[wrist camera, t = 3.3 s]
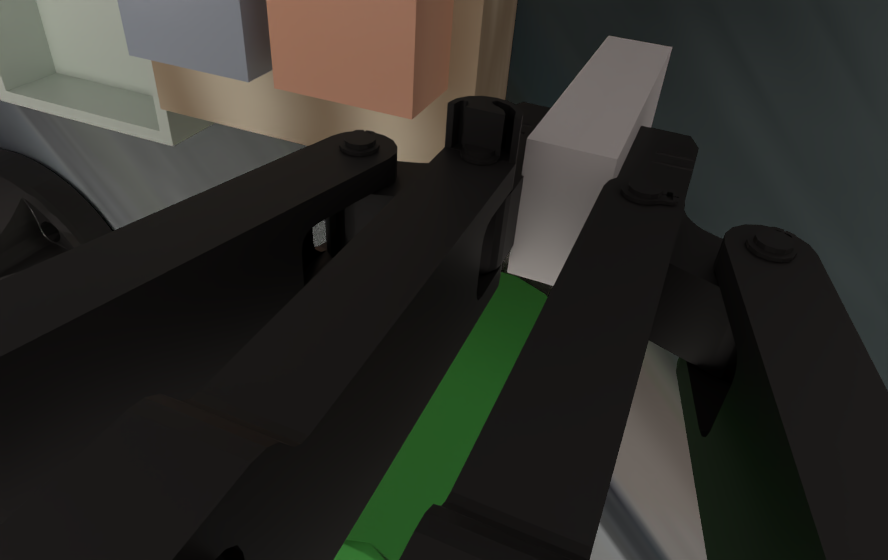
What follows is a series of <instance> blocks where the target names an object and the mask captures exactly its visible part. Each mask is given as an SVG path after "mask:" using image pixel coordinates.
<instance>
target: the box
mask: <svg viewBox="0 0 888 560" xmlns="http://www.w3.org/2000/svg"><path fill="white" fill-rule="evenodd" d="M0 99H1V101H4V102H8V103H12V104H16V105H19V106H23V107H27V108H31V109H34V110H38V111H42V112H46V113H49V114H53V115H57V116H61V117H64V118H68V119H72V120H75V121H79V122H83V123H87V124H90V125H94V126H98V127H102V128H105V129H109V130H113V131H117V132H120V133H124V134H128V135H132V136H135V137H139V138H143V139H147V140H150V141H154V142H158V143H162V144H165V145H169V146H175V145H177V144H179V143H180V142H182V141H184V140H186V139H188V138H189V137H191V136H193V135H195V134H197V133H198V132H200V131H202V130H204V129H205V128H207V127H209V126H211V125H213V124H214V122H210V121H206V120H202V119H198V118H194V117H190V116H186V115H182V114H178V113H174V112H170V111H166V110H162V109H161V108H160V103H159V98H158V93H157V88H156V82H155V77H154V72H153V67H152V62H151V60H148V59H143V58H139V57H135V56H130V55H129V52H128V48H127V43H126V38H125V34H124V29H123V24H122V20H121V15H120V11H119V6H118V1H117V0H0Z"/></svg>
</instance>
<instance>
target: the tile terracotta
mask: <svg viewBox="0 0 888 560" xmlns="http://www.w3.org/2000/svg"><path fill="white" fill-rule="evenodd" d="M266 3H267V14H268V25H269V36H270V47H271V59H272V70H273V81H274V88H275V89H280V90H284V91H288V92H293V93H297V94H302V95H306V96H310V97H315V98H319V99H324V100H328V101H332V102H337V103H341V104H346V105H350V106H354V107H359V108H363V109H368V110H372V111H376V112H381V113H385V114H390V115H394V116H398V117H403V118H407V119H411V120H412V119H413V118H414V117H416V116H417V115H418V114H419V113H420V112H421V111H423V110H424V109H425V108H426V107H427V106H428V105H430V104H431V103H432V102H433V101H434V100H435V99H437V98H438V97H439V96H440V95H441V94H442V93H444V92H445V91H446V90H447V89H448V78H449V63H450V49H451V34H452V20H453V5H454V0H266Z"/></svg>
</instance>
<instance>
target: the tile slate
mask: <svg viewBox="0 0 888 560" xmlns="http://www.w3.org/2000/svg"><path fill="white" fill-rule="evenodd" d="M117 1H118V6H119V11H120V15H121V20H122V24H123V29H124V34H125V38H126V43H127V48H128V52H129V55H130V56H135V57H139V58H143V59H148V60H152V61H157V62H161V63H165V64H170V65H174V66H179V67H183V68H187V69H192V70H196V71H201V72H205V73H209V74H214V75H218V76H223V77H227V78H231V79H236V80H240V81H244V82H250V81H252V80H254V79H256V78H258V77H260V76H262V75H264V74H266V73H268V72H270V71H272V59H271V47H270V36H269V25H268V14H267V3H266V0H117Z"/></svg>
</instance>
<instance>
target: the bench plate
mask: <svg viewBox="0 0 888 560" xmlns="http://www.w3.org/2000/svg"><path fill="white" fill-rule="evenodd" d="M516 9H517V0H454V5H453V20H452V34H451V49H450V63H449V78H448V89H447V90H446V91H445V92H444V93H442V94H441V95H440V96H439V97H438V98H437V99H435V100H434V101H433V102H432V103H431V104H430V105H428V106H427V107H426V108H425V109H424V110H423V111H421V112H420V113H419V114H418V115H417V116H416V117H414V118H413V119H412V120H411V119H407V118H403V117H398V116H394V115H390V114H385V113H381V112H376V111H372V110H368V109H363V108H359V107H354V106H350V105H346V104H341V103H337V102H332V101H328V100H324V99H319V98H315V97H310V96H306V95H302V94H297V93H293V92H288V91H284V90H280V89H275V88H274V81H273V70H272V71H270V72H268V73H266V74H264V75H262V76H260V77H258V78H256V79H254V80H252V81H250V82H244V81H240V80H236V79H231V78H227V77H223V76H218V75H214V74H209V73H205V72H201V71H196V70H192V69H187V68H183V67H179V66H174V65H170V64H165V63H161V62H157V61H152V60H151V62H152V67H153V72H154V77H155V82H156V88H157V93H158V98H159V103H160V108H161V109H162V110H166V111H170V112H174V113H178V114H182V115H186V116H190V117H194V118H198V119H202V120H206V121H210V122H214V123H218V124H222V125H226V126H230V127H234V128H238V129H242V130H246V131H250V132H254V133H258V134H262V135H266V136H270V137H274V138H278V139H282V140H286V141H290V142H294V143H298V144H302V145H306V146H309V145H312V144H314V143H316V142H319V141H321V140H323V139H325V138H328V137H330V136H332V135H336V134H339V133H343V132H351V131H354V130H364V131H366V130H369V131H374V132H375V133H378V134H382V135H385V136H387V137H388V138H390V139H392V140H393V141H394V142H395V144H396V145H397V161H403V162H416V163H429V162H430V161H431V160H432V159H433V158H434V157H435V156H436V155H437V154H438V153H439V152H440V151H441V150H442V149H443V148H444V147H445V135H446V120H447V105H448V102H450V101H452V100H454V99H456V98H460V97H465V96H488V97H495V98H500V99H503V100H505V98H506V90H507V82H508V73H509V65H510V57H511V49H512V41H513V33H514V25H515V17H516Z"/></svg>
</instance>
